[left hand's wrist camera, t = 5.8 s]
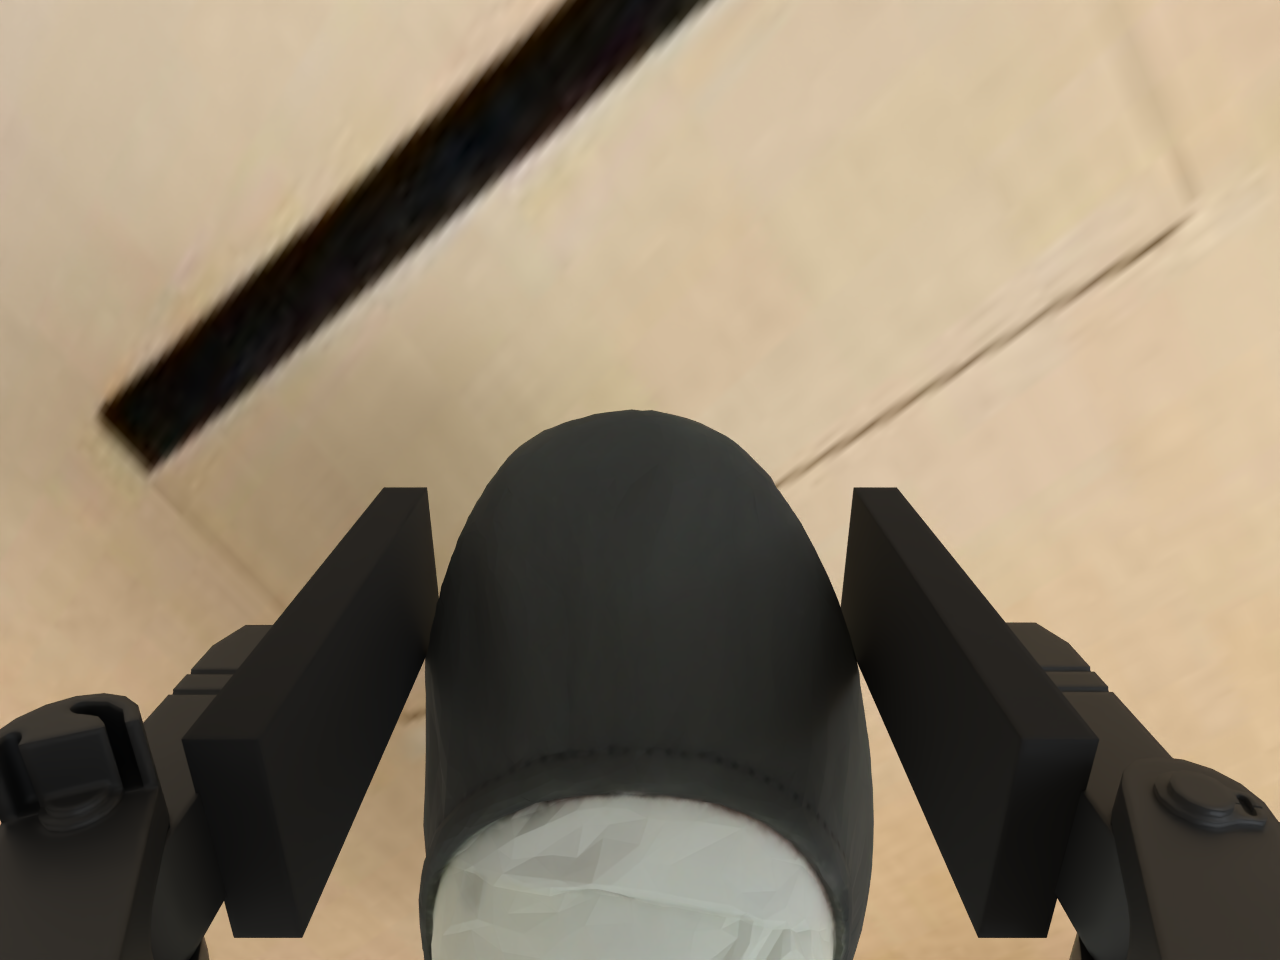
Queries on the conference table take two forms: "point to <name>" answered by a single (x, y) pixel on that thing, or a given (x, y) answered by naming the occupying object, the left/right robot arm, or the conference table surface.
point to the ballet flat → (641, 713)
